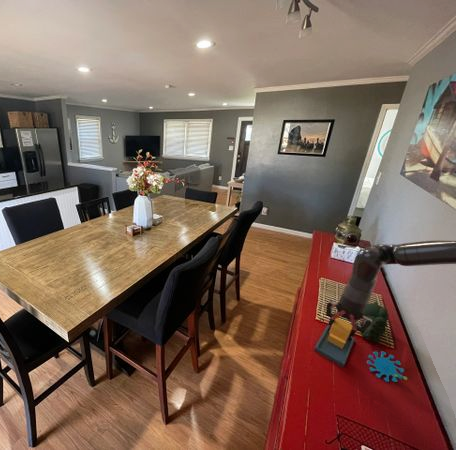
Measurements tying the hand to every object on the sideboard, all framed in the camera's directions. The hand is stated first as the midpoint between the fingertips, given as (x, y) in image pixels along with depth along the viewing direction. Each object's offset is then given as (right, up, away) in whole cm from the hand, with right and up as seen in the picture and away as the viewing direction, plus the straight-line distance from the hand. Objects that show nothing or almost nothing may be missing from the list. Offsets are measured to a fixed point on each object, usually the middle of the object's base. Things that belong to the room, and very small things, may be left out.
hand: (340, 330), depth 94 cm
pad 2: (+6, -8, +10) cm, 14 cm away
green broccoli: (+25, -7, +16) cm, 30 cm away
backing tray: (+3, -10, +7) cm, 12 cm away
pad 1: (0, 0, 0) cm, 0 cm away
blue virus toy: (+13, -15, -4) cm, 20 cm away
